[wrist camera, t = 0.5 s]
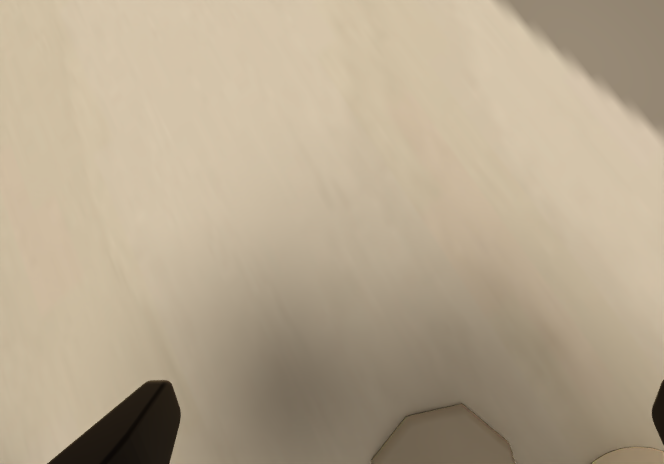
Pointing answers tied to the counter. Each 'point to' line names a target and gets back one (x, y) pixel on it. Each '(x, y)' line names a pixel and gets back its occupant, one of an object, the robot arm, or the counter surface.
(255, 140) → the counter surface
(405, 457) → the flask
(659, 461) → the cylindrical container
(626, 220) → the counter surface
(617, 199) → the counter surface
